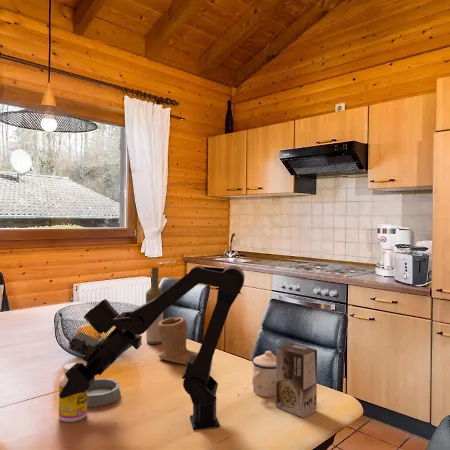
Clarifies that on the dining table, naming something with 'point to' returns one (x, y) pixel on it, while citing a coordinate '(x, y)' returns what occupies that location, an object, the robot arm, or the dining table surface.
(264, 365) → the teacup with lid
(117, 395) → the round bowl
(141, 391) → the dining table surface
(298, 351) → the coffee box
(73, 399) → the supplement bottle
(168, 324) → the tan boot-shaped piece
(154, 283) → the bottle
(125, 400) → the dining table surface
